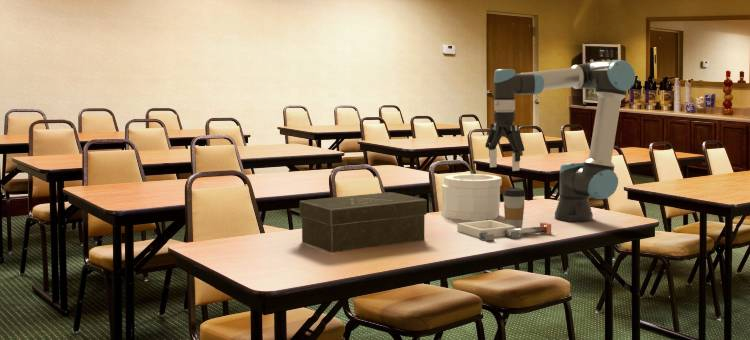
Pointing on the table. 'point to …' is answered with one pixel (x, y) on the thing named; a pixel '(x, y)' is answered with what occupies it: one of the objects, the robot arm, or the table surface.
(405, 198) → the box
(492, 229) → the square tray
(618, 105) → the robot arm
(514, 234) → the bar guides
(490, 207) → the container
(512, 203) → the coffee cup
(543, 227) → the lock bar
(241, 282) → the table surface
